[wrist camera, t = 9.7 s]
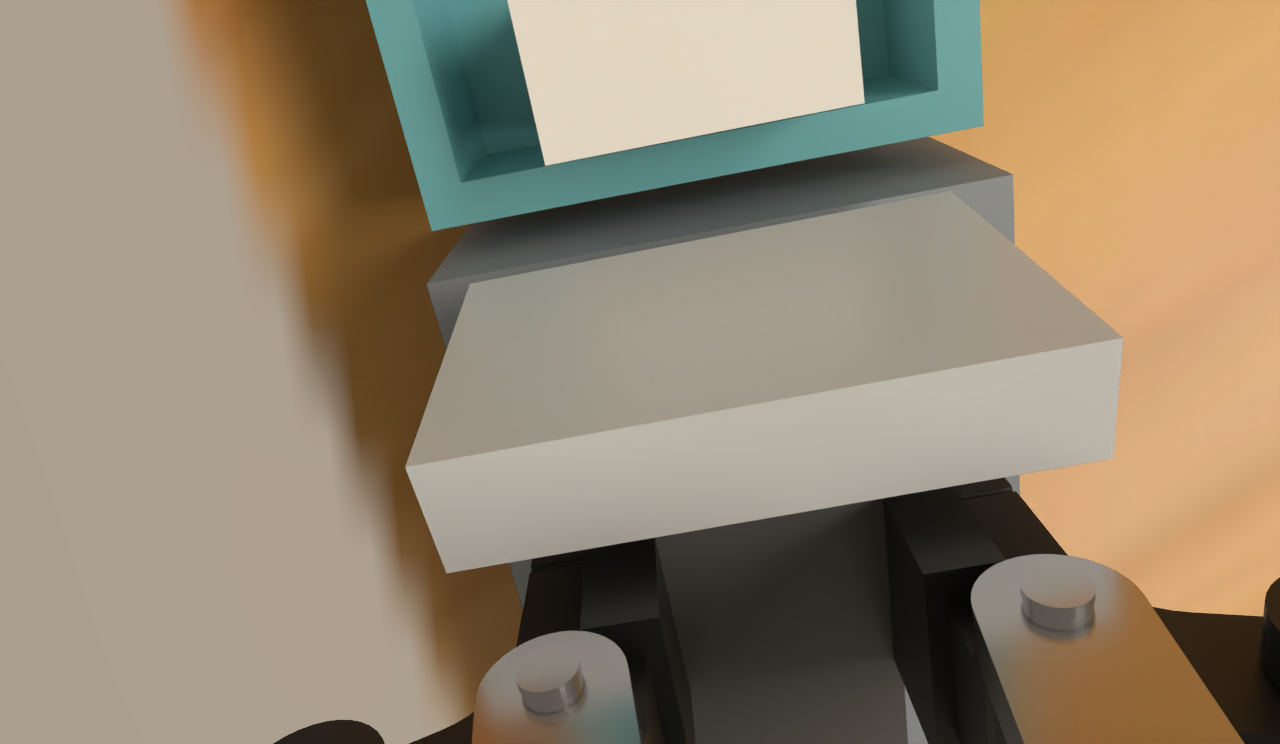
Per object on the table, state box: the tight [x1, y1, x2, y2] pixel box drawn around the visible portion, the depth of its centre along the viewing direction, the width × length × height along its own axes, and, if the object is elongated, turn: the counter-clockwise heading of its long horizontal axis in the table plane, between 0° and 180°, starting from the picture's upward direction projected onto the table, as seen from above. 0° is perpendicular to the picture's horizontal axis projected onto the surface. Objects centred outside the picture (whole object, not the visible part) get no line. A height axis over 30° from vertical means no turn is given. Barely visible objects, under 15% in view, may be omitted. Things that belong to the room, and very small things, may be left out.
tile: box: [507, 0, 865, 166], centre depth 12 cm, size 4×4×2 cm
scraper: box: [405, 191, 1123, 744], centre depth 11 cm, size 8×6×4 cm
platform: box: [427, 137, 1020, 744], centre depth 16 cm, size 12×8×4 cm, turn 11°
